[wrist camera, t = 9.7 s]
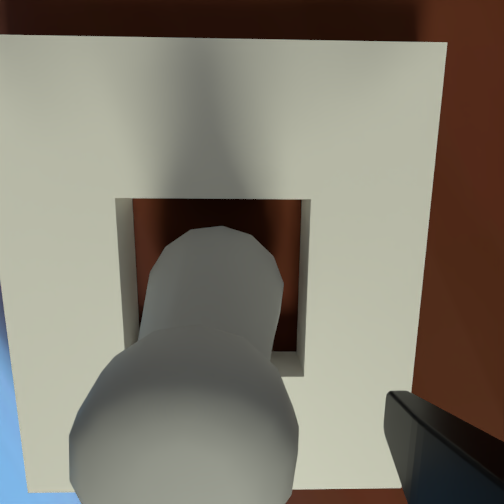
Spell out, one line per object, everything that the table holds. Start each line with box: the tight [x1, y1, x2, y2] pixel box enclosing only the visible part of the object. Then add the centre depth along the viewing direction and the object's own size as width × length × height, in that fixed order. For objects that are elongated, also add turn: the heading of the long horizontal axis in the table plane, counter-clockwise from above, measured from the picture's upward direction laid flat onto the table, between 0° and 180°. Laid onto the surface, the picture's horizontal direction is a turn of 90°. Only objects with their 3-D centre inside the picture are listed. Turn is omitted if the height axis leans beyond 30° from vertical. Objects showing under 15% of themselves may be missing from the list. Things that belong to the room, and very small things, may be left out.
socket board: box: [0, 35, 447, 493], centre depth 18 cm, size 18×20×2 cm
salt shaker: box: [69, 226, 299, 504], centre depth 13 cm, size 6×6×13 cm
